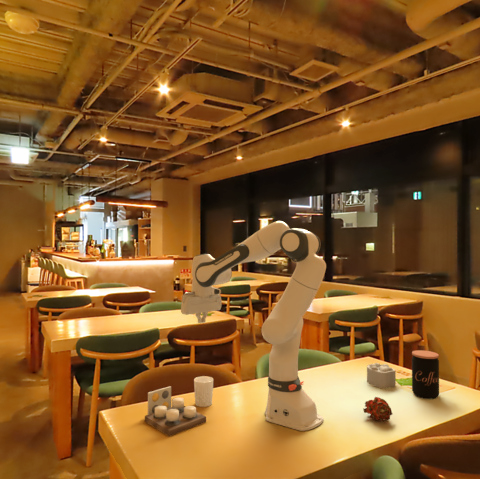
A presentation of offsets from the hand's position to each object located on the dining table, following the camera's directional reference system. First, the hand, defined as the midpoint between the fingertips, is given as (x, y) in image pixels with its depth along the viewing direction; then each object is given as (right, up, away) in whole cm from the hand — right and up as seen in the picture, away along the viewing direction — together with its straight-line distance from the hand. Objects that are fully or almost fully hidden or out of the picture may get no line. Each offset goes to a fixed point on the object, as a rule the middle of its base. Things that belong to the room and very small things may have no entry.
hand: (201, 322), depth 173 cm
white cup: (+2, -31, -11) cm, 33 cm away
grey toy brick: (+83, -32, +14) cm, 90 cm away
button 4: (-12, -28, -28) cm, 41 cm away
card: (-14, -31, -21) cm, 39 cm away
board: (-7, -31, -28) cm, 42 cm away
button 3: (-7, -27, -23) cm, 36 cm away
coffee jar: (+98, -32, -1) cm, 103 cm away
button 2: (-7, -27, -33) cm, 43 cm away
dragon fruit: (+68, -31, -25) cm, 79 cm away
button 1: (-1, -28, -28) cm, 40 cm away
